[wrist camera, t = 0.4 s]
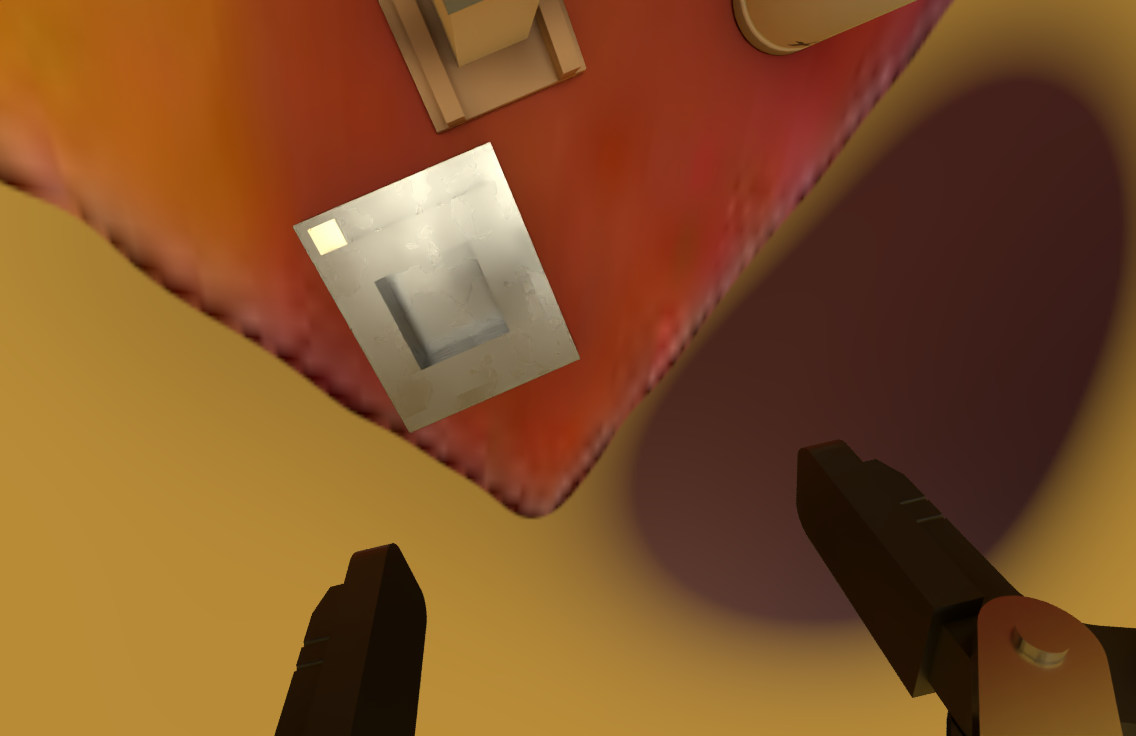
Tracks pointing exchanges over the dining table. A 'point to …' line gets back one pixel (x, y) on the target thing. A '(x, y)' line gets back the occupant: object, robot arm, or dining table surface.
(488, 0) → the plug
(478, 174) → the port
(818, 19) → the travel mug
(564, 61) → the wooden square tray
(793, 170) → the dining table surface
